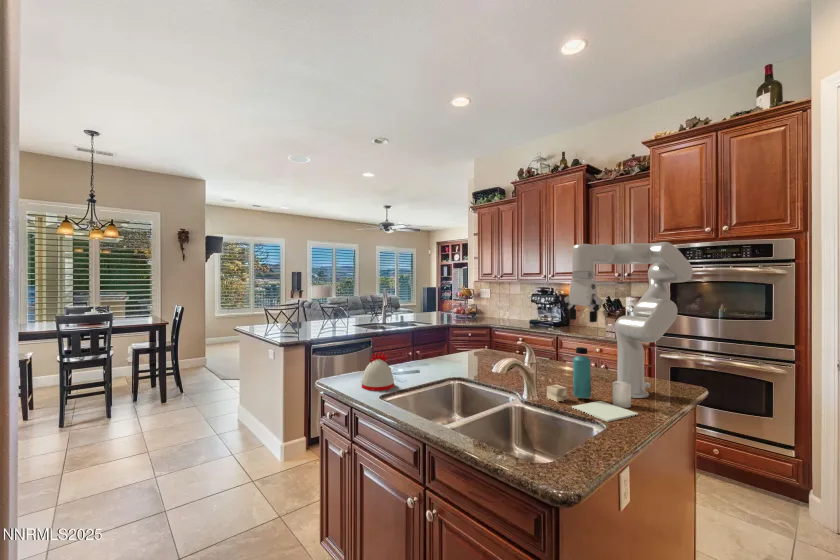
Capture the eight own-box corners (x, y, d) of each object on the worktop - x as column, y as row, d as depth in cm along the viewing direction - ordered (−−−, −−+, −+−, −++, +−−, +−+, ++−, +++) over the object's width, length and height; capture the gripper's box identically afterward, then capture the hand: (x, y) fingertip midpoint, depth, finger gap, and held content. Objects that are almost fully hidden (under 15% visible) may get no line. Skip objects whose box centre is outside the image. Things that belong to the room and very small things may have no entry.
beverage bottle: (593, 402, 144) (593, 349, 144) (574, 401, 145) (574, 348, 145) (589, 397, 150) (589, 346, 150) (571, 396, 152) (571, 345, 152)
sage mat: (600, 402, 144) (600, 400, 144) (638, 415, 131) (638, 413, 131) (571, 407, 138) (571, 406, 138) (607, 421, 124) (607, 420, 124)
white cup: (619, 401, 145) (619, 380, 145) (634, 406, 140) (634, 384, 140) (609, 403, 143) (609, 382, 143) (623, 408, 137) (623, 386, 137)
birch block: (556, 397, 151) (556, 384, 151) (566, 400, 146) (566, 387, 146) (546, 399, 149) (546, 386, 149) (556, 402, 144) (556, 389, 144)
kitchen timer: (396, 389, 161) (396, 354, 161) (363, 391, 158) (363, 355, 158) (391, 381, 174) (391, 348, 174) (360, 383, 171) (360, 349, 171)
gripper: (609, 276, 142) (609, 322, 142) (572, 276, 157) (571, 318, 157) (595, 275, 138) (594, 323, 138) (558, 276, 154) (558, 319, 154)
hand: (582, 320), depth 148 cm, fingers open, 9 cm apart
